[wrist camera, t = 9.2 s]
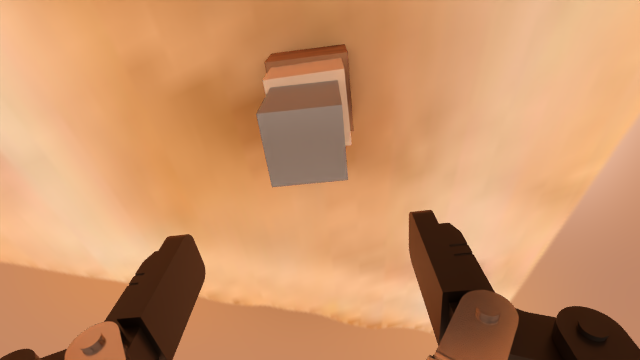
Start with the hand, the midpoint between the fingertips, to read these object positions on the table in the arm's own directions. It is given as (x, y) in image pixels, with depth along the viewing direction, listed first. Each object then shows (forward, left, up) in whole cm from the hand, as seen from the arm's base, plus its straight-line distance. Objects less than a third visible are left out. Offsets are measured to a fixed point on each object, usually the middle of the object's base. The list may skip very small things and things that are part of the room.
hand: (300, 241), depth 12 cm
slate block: (0, 0, -15) cm, 15 cm away
